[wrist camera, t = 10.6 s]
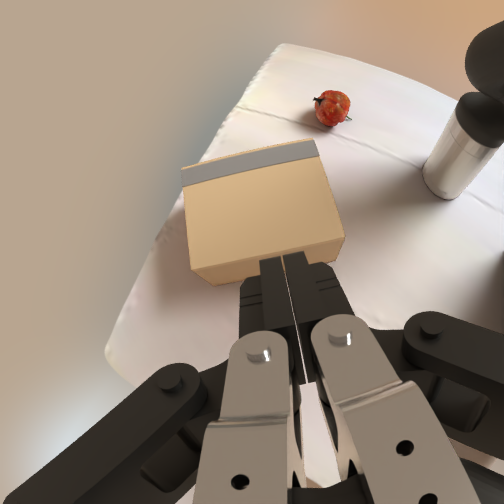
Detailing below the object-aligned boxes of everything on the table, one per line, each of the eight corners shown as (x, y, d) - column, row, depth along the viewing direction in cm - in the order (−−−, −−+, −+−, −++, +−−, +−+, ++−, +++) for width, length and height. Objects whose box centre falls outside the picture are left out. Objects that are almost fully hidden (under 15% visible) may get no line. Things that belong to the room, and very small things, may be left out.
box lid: (344, 239, 37) (346, 236, 36) (193, 271, 39) (190, 269, 38) (312, 141, 43) (312, 137, 41) (183, 171, 44) (180, 167, 43)
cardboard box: (335, 260, 47) (344, 239, 37) (213, 286, 49) (193, 271, 39) (310, 174, 52) (312, 140, 43) (202, 199, 54) (183, 170, 44)
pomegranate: (341, 112, 58) (304, 90, 54) (364, 100, 52) (327, 74, 47) (338, 140, 57) (300, 117, 53) (364, 128, 51) (324, 102, 46)
